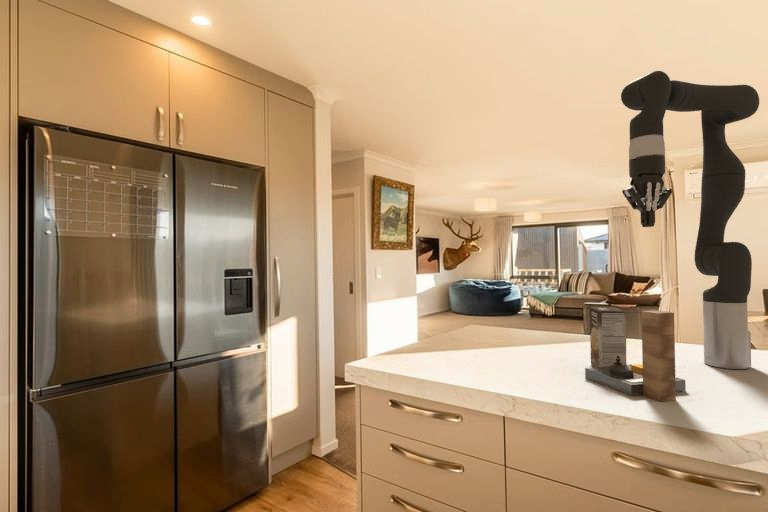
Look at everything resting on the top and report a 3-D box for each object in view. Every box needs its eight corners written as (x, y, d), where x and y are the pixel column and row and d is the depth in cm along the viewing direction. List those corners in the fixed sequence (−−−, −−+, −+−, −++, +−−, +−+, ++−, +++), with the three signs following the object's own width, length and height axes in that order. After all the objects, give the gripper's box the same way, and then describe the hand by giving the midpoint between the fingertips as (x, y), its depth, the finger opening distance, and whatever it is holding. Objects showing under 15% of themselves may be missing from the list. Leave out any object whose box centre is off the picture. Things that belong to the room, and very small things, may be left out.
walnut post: (658, 394, 87) (657, 310, 87) (675, 400, 83) (674, 312, 84) (643, 395, 86) (641, 311, 87) (659, 401, 82) (657, 313, 83)
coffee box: (589, 364, 112) (588, 306, 112) (614, 365, 111) (613, 306, 111) (600, 373, 103) (599, 310, 103) (628, 374, 102) (627, 310, 102)
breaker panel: (633, 376, 102) (633, 358, 102) (685, 393, 89) (685, 373, 89) (585, 380, 99) (585, 362, 100) (631, 399, 86) (631, 378, 86)
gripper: (656, 161, 106) (657, 228, 105) (612, 159, 103) (613, 228, 103) (682, 154, 98) (684, 225, 98) (636, 151, 95) (637, 225, 95)
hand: (647, 226), depth 100 cm, fingers closed
